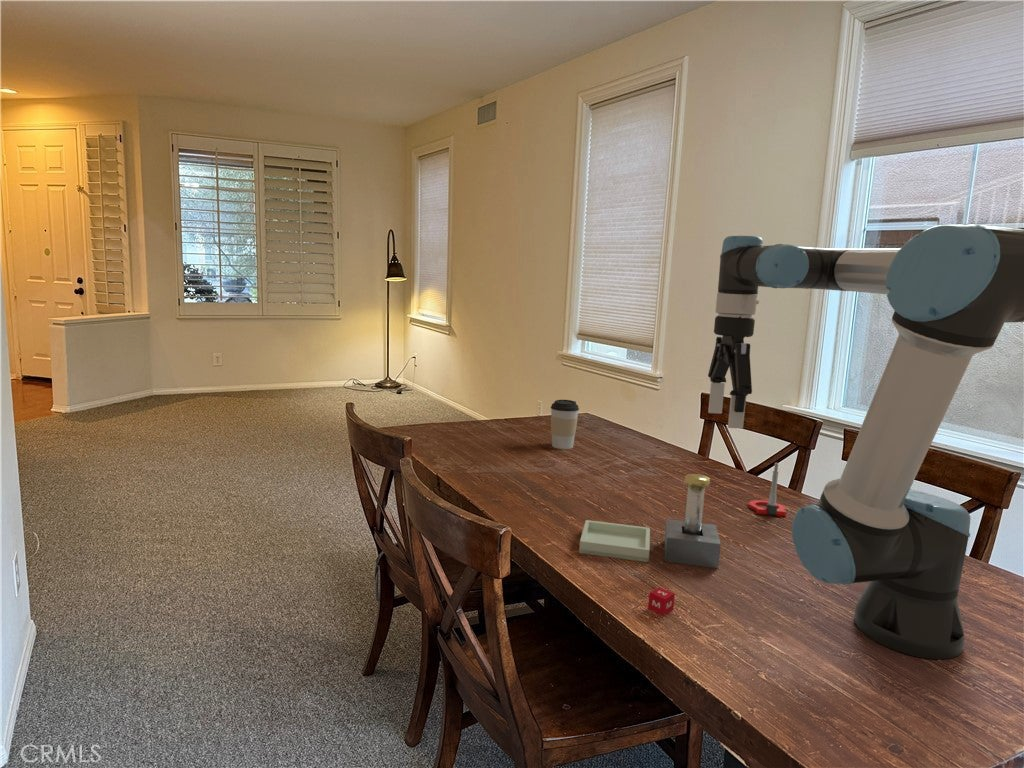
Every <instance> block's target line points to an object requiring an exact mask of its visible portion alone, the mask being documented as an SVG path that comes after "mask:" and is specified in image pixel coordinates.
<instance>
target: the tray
mask: <svg viewBox="0 0 1024 768" xmlns="http://www.w3.org/2000/svg"><path fill="white" fill-rule="evenodd" d="M650 534H651V527H648V526H637V525H631V524H621V523H613V522H605V521H597V520H590V519H589V520H588V519H585V523H584V525H583V528H582V532H581V537H580V540H579V549H578V553H579V554H585V555H590V556H591V555H593V556H600V557H607V558H615V559H621V560H622V559H623V560H630V561H637V562H645V563H649V560H650V559H649V558H650V549H651V548H650V544H651V543H650V542H651V541H650V540H651V539H650V538H651V537H650V536H651V535H650Z"/></svg>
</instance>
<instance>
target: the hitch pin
mask: <svg viewBox="0 0 1024 768" xmlns="http://www.w3.org/2000/svg"><path fill="white" fill-rule="evenodd" d="M710 483H711V478H710V477H708V476H707V475H704V474H699V473H687V474H686V475H684V484H685V485H687V494H686V495H687V496H686V506H685V517H684V521H685V525H684V534H690V535H698V536H700V532H701V523H702V521H703V511H704V501H705V493H706V491H705V490H706V488H708V487H710Z"/></svg>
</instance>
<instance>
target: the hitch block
mask: <svg viewBox="0 0 1024 768" xmlns="http://www.w3.org/2000/svg"><path fill="white" fill-rule="evenodd" d="M684 525H685V520H678V519H668V518H666V520H665V530H664V531H665V532H664V542H663V543H664V545H663V546H664V562H666V563H674V564H681V565H689V566H697V567H703V568H711V569H719V562H720V553H721V552H720V551H721V544H722V543H721V540H720V536H719V532H718V528H717V525H716V524H712V523H704V522H703V523H701V532H700V536H698V535H690V534H684Z"/></svg>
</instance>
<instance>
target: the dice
mask: <svg viewBox="0 0 1024 768" xmlns="http://www.w3.org/2000/svg"><path fill="white" fill-rule="evenodd" d="M674 605H675V592H673V591H671V590H670V591H669V590H667V589H665V588H663V587H660V586H659V587H657V588H655V589H653V590H651V591H649V596H648V606H647V607H648V608H647V609H648V610H651V611H653V612H655V613H656V614H659V615H661V616H665V615H667V614H668V613H670V612H672V611H673V610H674Z"/></svg>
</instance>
